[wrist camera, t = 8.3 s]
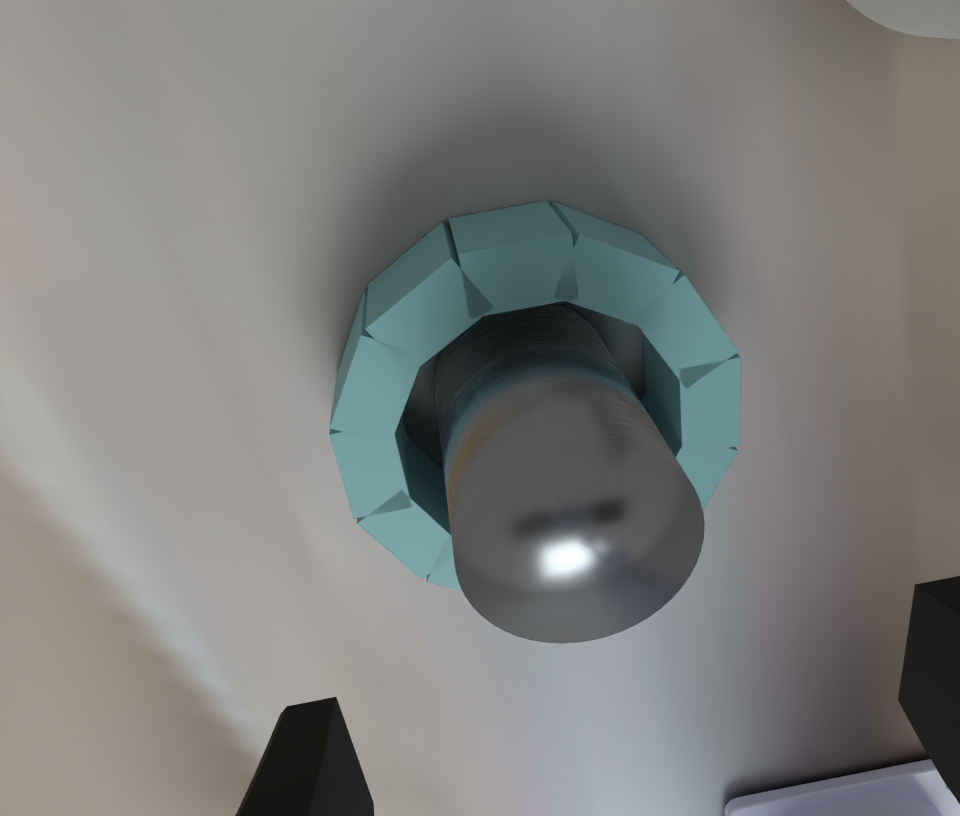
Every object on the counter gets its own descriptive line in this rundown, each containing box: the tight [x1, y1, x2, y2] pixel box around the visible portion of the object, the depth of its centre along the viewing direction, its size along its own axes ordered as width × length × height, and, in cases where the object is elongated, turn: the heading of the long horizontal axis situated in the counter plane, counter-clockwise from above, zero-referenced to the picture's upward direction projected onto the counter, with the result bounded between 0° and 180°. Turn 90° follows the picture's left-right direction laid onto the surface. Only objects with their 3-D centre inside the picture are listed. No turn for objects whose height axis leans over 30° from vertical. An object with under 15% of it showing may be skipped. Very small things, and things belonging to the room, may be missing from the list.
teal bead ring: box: [329, 201, 741, 590], centre depth 16 cm, size 8×8×2 cm
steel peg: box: [434, 303, 704, 643], centre depth 15 cm, size 4×4×6 cm
